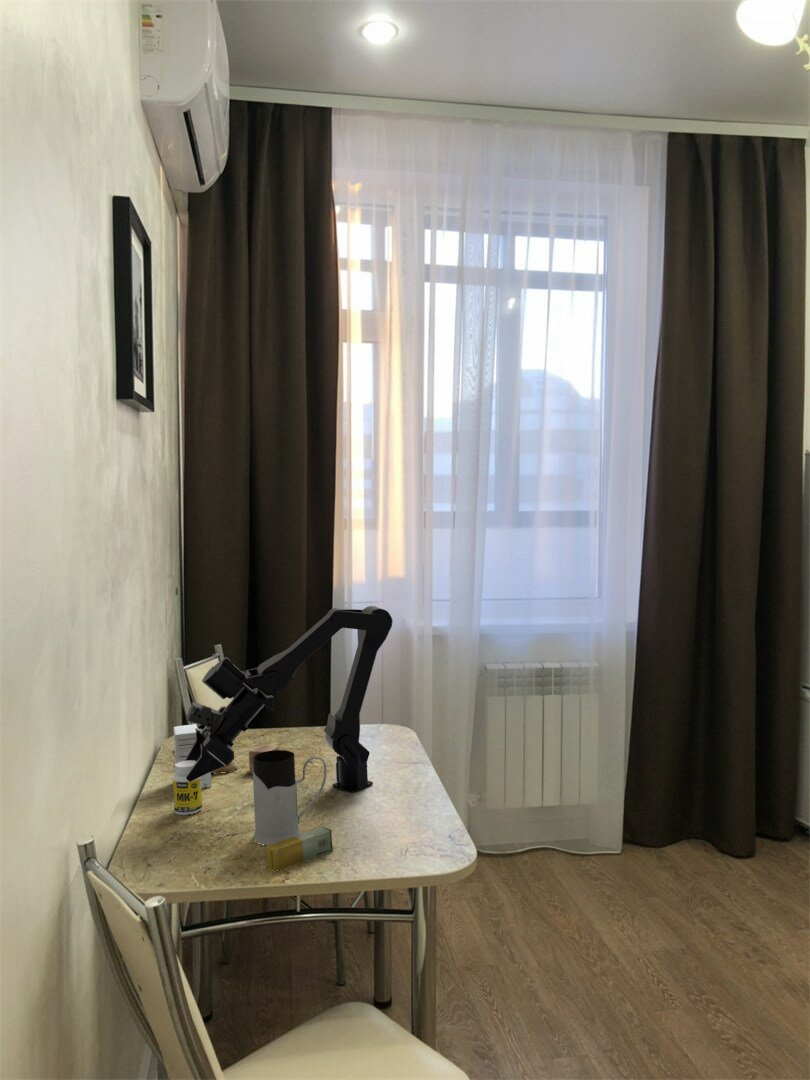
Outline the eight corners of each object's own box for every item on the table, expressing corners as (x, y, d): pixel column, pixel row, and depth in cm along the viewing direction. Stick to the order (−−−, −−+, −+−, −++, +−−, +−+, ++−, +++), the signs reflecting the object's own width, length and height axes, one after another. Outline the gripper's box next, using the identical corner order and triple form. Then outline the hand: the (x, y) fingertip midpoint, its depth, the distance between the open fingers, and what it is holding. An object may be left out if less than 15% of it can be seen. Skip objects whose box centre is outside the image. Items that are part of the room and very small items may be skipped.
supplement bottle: (174, 817, 162) (171, 769, 161) (174, 808, 167) (172, 761, 167) (202, 813, 163) (200, 765, 163) (202, 804, 168) (200, 758, 168)
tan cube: (279, 767, 191) (278, 746, 191) (268, 774, 187) (267, 752, 186) (261, 765, 193) (260, 744, 193) (249, 772, 188) (248, 751, 188)
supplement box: (175, 781, 184) (173, 726, 183) (209, 777, 186) (207, 722, 185) (176, 792, 177) (174, 734, 176) (211, 787, 179) (209, 730, 178)
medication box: (325, 847, 145) (324, 825, 145) (334, 852, 143) (332, 829, 143) (266, 868, 138) (264, 845, 138) (274, 873, 136) (272, 849, 136)
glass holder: (249, 831, 153) (245, 752, 153) (322, 819, 158) (319, 742, 158) (257, 849, 145) (254, 766, 144) (334, 835, 150) (331, 755, 149)
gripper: (205, 679, 175) (153, 736, 172) (214, 698, 157) (157, 762, 154) (243, 712, 178) (193, 768, 174) (257, 733, 160) (201, 797, 157)
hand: (186, 773), depth 165 cm, fingers open, 9 cm apart
